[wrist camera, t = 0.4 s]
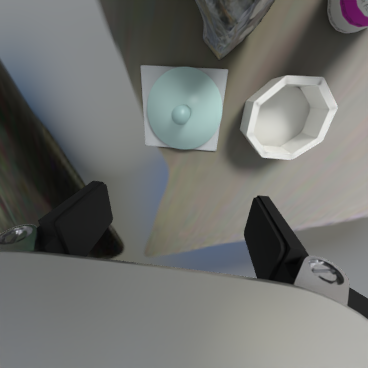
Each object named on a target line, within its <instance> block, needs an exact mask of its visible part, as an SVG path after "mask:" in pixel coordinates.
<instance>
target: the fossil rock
mask: <svg viewBox="0 0 368 368" xmlns="http://www.w3.org/2000/svg"><path fill="white" fill-rule="evenodd" d="M195 1H196V3H197V5H198V8H199V10H200V13H201V15H202V18H203V22H204V30H203V40H204V42H205V43H206V44H207V45H208V46H209V48H210V49H211V51H212V52H213V53H214V54H215V55H216V57H217V59H218V60H221V59H222V58H223V57H225V56H226V55H227V54H228V53H229V52H230V51H231V50H232V49H233V48H235V47H236V46H237V45H238V44H239V43H240V42H242V41H243V39H244V38H245V37H246V36H247V35H249V34H250V33H251V32H252V31H253V30H254V29H255V28H256V26H257V25H258V24H259V23H260V22H261V20H262V19H263V17H264V16H265V15H266V13H267V12H268V11H269V9H270V7H271V5H272V4H273V3H274V0H195Z"/></svg>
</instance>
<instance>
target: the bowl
mask: <svg viewBox="0 0 368 368" xmlns="http://www.w3.org/2000/svg"><path fill="white" fill-rule="evenodd" d="M297 87H298V88H297ZM337 108H338V106H337V104H336V102H335V100H334V98H333V95H332V93H331V91H330V89H329V87H328V85H327V83H326V81H325V79H324V77H311V76H291V75H286V76H282V77H278V78H274V79H271V80H270V81H269V82H268V83H267V84H265V85H264V86H263V87H262V88H261V89H259V90H258V91H257V92H256V93H255V94H254V95H252V96H251V97H250V98H249V99H248V100H246V102H245V107H244V112H243V117H242V122H241V127H240V130H241V132H242V133H243V135H244V136H245V137H246V139H247V140H248V142H249V143H250V144H251V146H252V147H253V148H254V150H255V151H256V152H257V153H258V154H259V155H260V156H261V157H262V158H275V159H287V160H292V159H294V158H296V157H297V156H299V155H301V154H302V153H304V152H305V151H307V150H309V149H310V148H312V147H314V146H315V145H317V144H318V143H320V142H322V141H323V139H324V137H325V134H326V132H327V130H328V128H329V126H330V123H331V121H332V119H333V117H334V115H335V112H336V110H337Z"/></svg>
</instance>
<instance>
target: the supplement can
mask: <svg viewBox="0 0 368 368" xmlns="http://www.w3.org/2000/svg"><path fill="white" fill-rule="evenodd" d="M327 13H328V17H329V21H330V24H331V25H332V26H333V27H334V28H335V30H337V31H340V32H343V33H353V32H358V31H360V30H362V29H365V28H367V27H368V0H328V8H327Z"/></svg>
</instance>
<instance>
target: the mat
mask: <svg viewBox="0 0 368 368" xmlns="http://www.w3.org/2000/svg"><path fill="white" fill-rule="evenodd" d="M173 68H177V67H169V66H148V65H141V80H142V97H143V113H144V129H145V145H149V146H160V147H171V146H169V145H167V144H165V143H164V142H163V141H162V140H161V139H159V138H158V136H157V135H156V134H155V132H154V131H153V129H152V127H151V125H150V122H149V119H148V113H147V102H148V97H149V93H150V91H151V88H152V87H153V85H154V83H155V82H156V81H157V79H158V78H159V77H160V76H161V75H163V74H164V73H165V72H167V71H169V70H171V69H173ZM196 69H198V70H200V71H202V72H204V73H205V74H207V75H208V76H209V77H210V78H211V79H212V80H213V82H214V83H215V84H216V86H217V88H218V90H219V92H220V96H221V100H222V108H223V101H224V94H225V88H226V81H227V74H228V69H210V68H196ZM219 128H220V124H219V126H218V129H217V130H216V132H215V134H214V135H213V136H212V137H211V138H210V139H209V140H208V141H207V142H206V143H204V144H203V145H201V146H199V147H196V148H193V149H197V150H209V151H216V148H217V141H218V134H219ZM172 148H173V147H172Z"/></svg>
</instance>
